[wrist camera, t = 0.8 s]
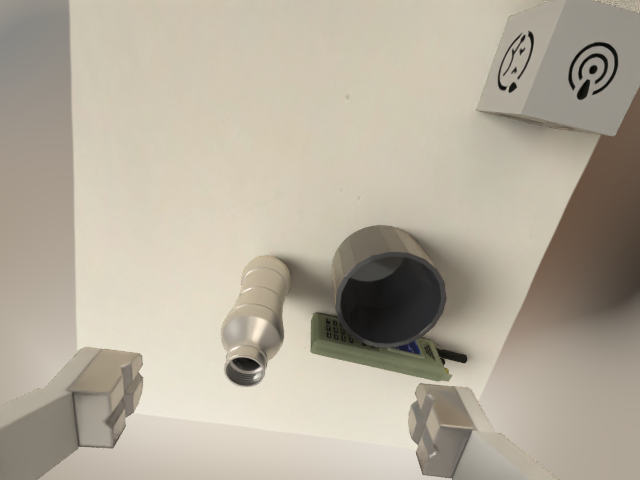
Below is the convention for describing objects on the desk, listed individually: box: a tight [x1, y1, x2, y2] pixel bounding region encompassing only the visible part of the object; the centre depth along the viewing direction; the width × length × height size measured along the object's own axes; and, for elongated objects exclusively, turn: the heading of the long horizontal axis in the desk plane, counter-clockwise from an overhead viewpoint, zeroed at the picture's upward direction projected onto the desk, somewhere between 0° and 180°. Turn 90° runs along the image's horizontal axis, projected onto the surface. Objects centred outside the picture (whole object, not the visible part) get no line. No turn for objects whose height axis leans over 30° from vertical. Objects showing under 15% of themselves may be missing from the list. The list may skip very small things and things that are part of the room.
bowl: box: [331, 225, 446, 348], centre depth 47 cm, size 13×13×9 cm
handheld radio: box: [311, 313, 467, 381], centre depth 53 cm, size 7×3×25 cm
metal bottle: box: [221, 256, 291, 387], centre depth 42 cm, size 6×7×20 cm
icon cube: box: [477, 0, 640, 136], centre depth 38 cm, size 10×10×10 cm
